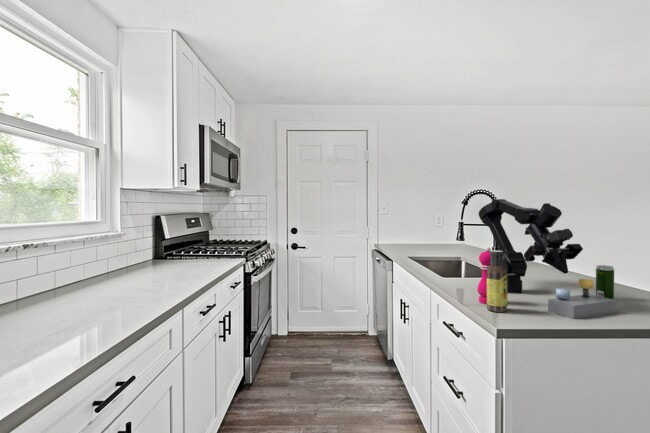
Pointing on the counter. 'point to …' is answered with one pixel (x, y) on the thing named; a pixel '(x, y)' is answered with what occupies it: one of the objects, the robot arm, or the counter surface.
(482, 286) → the pepper mill
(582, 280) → the amber button
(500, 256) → the sauce bottle
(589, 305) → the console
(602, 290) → the beer can
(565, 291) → the blue button
